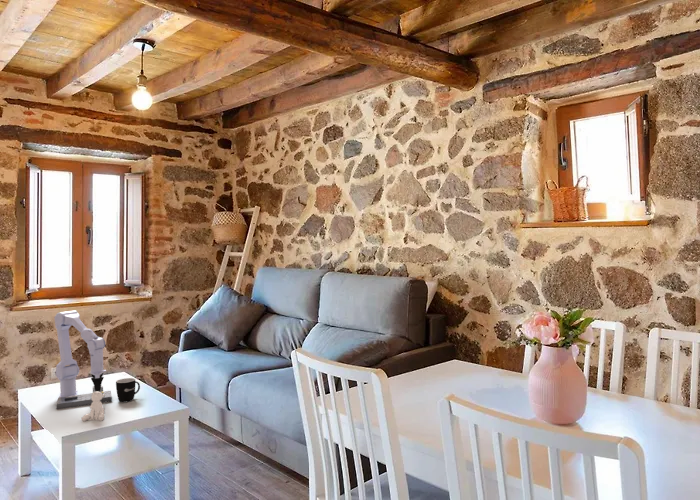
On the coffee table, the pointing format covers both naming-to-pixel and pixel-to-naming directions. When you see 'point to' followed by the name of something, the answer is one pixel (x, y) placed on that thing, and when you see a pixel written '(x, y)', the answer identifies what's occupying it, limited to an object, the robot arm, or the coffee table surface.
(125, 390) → the mug
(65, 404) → the panel
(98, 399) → the seated beast figurine
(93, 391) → the plug
